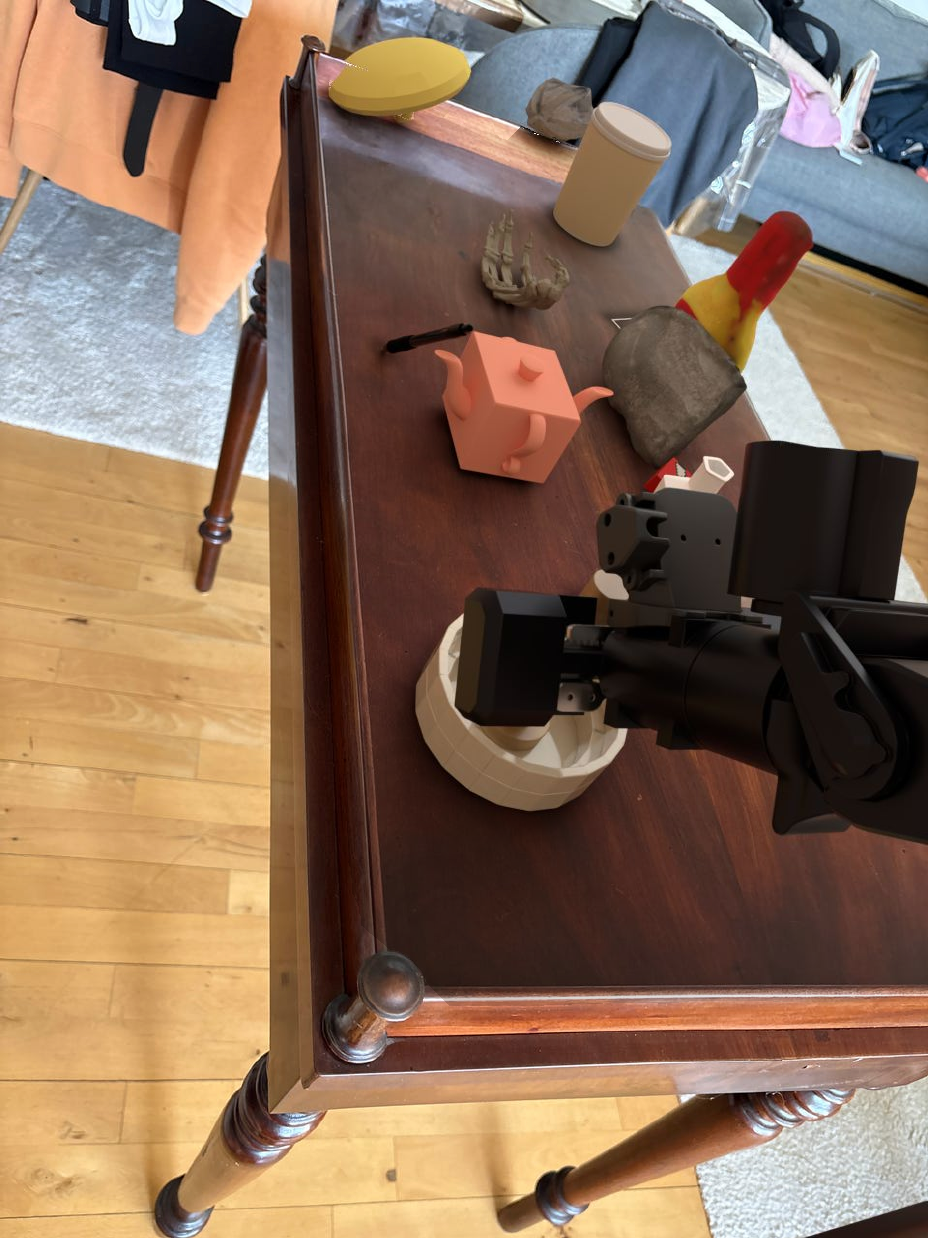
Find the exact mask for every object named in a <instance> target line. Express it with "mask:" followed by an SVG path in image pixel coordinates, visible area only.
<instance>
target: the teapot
mask: <svg viewBox="0 0 928 1238" xmlns="http://www.w3.org/2000/svg"><path fill="white" fill-rule="evenodd" d="M434 354H435V355H436V356H437V357H438V358H439V359H441V360H442V361H443V362H444V364H445V365H446V369H447V379H446V386H445V389H444V391H443V394H442V396H441V397H442V401H443V406H444V409H445V414H446V416H447V421H448V425H449V429H450V433H451V437H452V441H453V444H454V448H455V453H456V456H457V460H458V465H459V468H460V469H461V470H466V471H472V472H477V473H482V474H487V475H488V474H489V475H493V476H499V477H505V478H511V479H516V480H522V481H527V482H533V483H539V484H545V482H546V480H547V479H548V477H549V476H550V474H551V472H552V471H553V469H554V468H555V466H556V465H557V462H558V461H559V459H560V458H561V456H562V454H563V453H564V451H565V449H566V448H567V446H568V445H569V444H570V441H572V438H573V437H574V435H575V434H576V432H577V430H578V429H579V427H580V425H581V424H582V421H581V416H580V415H581V414H582V413H583V411H585V410H586V408H588V406H590V405H591V404H592V403H594V402H595V401H597V400H599V399H602V398H606V397H607V398H608V396H611V395H613V392H612V391H611V390H609V389H607V388H606V387H603V386H591V387H588V388H585V389H582V390H581V391H579V392H578V393H576V394H575V395H572V392H571V390H570V387H569V384H568V382H567V378H566V376H565V374H564V371H563V368H562V366H561V363H560V361H559V358H558V356H557V354H556V351H555V350H552V349H549V348H544V347H540V346H536V345H532V344H529V343H525V342H520V341H518V340H516V339H515V338H513V337H510V336H503V337H499V336H495V335H492V334H486V333H483V332H479V331H476V330H473V331H472V332H471V333H470V336H469V338H468V340H467V343H466V344H465V347H464V349H463V351H462V353H461V355H460V358H459V357H458V356H457V355H456V354H454V353H452V352H449V351H447V350H443V349H436V350H434Z"/></svg>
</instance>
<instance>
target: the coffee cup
mask: <svg viewBox="0 0 928 1238" xmlns="http://www.w3.org/2000/svg"><path fill="white" fill-rule="evenodd" d="M593 109H594V110H593V112H592V115H591V120H590V122H589V125H588V127H587V129H586V131H585V134H584V136H583V137H581V141H580V143H579V146H578V148H577V151H576V153H575V155H574V157H573V160H572V162H571V165H570V167H569V170H568V173H567V174H566V177H565V180H564V182H563V185H562V187H561V190H560V191H559V194H558V196H557V199H556V202H555V204H554V207H553V209H552V215H553V218H554V220H555V221H556V223H557V225H559V227H560V228H562V229H563V230H564V231H565V232H567V234H569V235H570V236H572V237H573V238H576V240H579V241H580V242H583V243H585V244H589V245H591V246H595V247H609V246H610V245H611V244H612V243H613V242H614V241H615V239H616V238H617V236H618V235H619V233H620V232H621V230H622V228H623V227H624V226H625V224H626V222H627V221H628V219H629V217H630V216H631V215H632V213H633V211H634V210H635V208H636V207H637V205H638V204H639V202H640V201H641V199H642V198H643V196H644V194H645V193H646V192H647V189H648V188H649V187H650V185H651V183H653V181H654V179H655V178H656V175H657V174H658V172H659V170H661V168H662V166H663V165H664V162H665V161H667V160H668V159H669V157H670V155H671V152H672V151H671V148H672V140H671V139H670V137H669V135H668V134H667V133H666V131H665V130H664V129H662V127H660V126H659V125H658V124H657V123H656V122H654V121H653V120H652V119H651V118H649V117H647V116H646V115H644V114H642V113H640V112H639V111H637V110H635V109H633V108H631V107H628V106H627V105H623V104H620V103H617V102H612V101H604V102H601V103H599V104H598V105H597V107H595V108H593Z"/></svg>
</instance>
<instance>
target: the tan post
mask: <svg viewBox="0 0 928 1238" xmlns="http://www.w3.org/2000/svg"><path fill="white" fill-rule="evenodd" d="M578 596H587V597H597V598H598V601H597V610H596V618H595V625H601V626H608V625H607V617H608V608H609V600H610V598H611V599H624V600H628V598H629V595H628V593H627V591H626V589H625V588H624V586H623V582H622V579H621V577H620V576H618V575H617V574H608V573H605V572H604V571H603V570H602V569H599V570H596V571H595V572H594V573H593V575H592V576H591V578H590V579H589V581H588V582H587V583H586V584H585V586H584V587H583V589H582V590H581V591H580V593H579V594H578ZM550 720H551V719H550ZM481 727H482V729H483V731H484V732H485V733H486V735H487V736H488V737H489V738H490V739H491V740H492V741H494V742H495V743H496V744H498V745H500V746H502V747H504V748H506V749H509V750H513V751H525V750H529V749H531V748H533V747H535V746H536V745H537V744H538V743H539V742H540V741H541V739H542V738H543V737H544V736H545V734H546V733H547V732H548V730H549V727H550V721H549V722H548V723H547V724H546V725H545V727H497V726H481Z"/></svg>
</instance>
